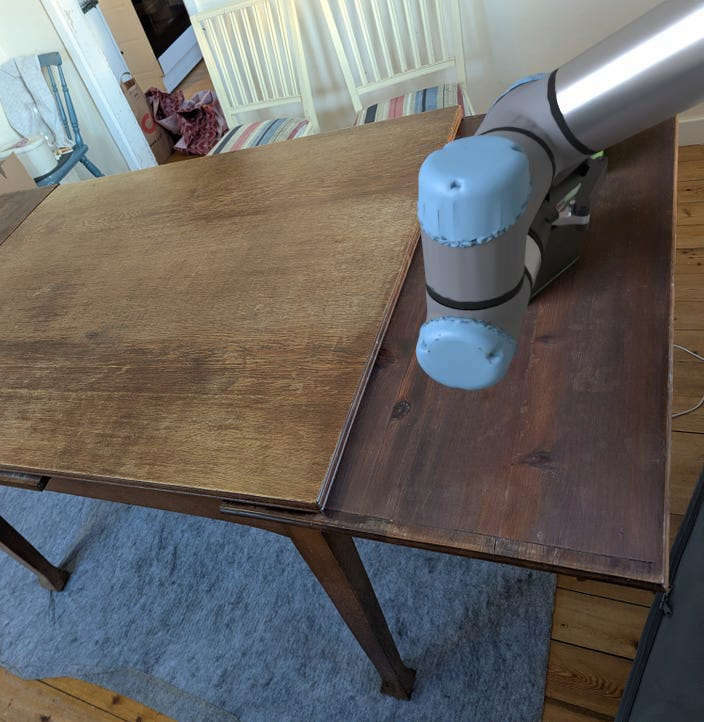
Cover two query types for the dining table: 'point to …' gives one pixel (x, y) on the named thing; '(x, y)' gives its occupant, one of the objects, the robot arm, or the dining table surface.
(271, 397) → the dining table surface
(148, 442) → the dining table surface
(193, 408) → the dining table surface
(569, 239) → the metal box
